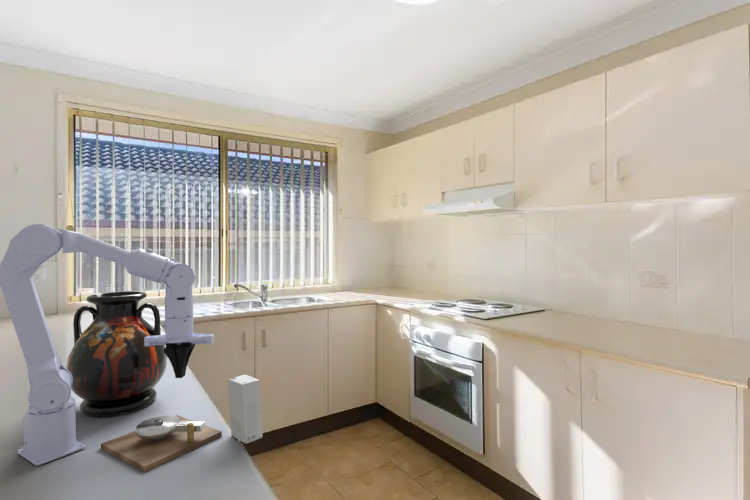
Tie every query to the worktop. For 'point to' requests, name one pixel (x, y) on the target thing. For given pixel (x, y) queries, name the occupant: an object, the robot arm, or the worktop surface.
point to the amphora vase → (115, 355)
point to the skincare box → (245, 408)
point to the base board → (158, 446)
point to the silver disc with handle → (165, 426)
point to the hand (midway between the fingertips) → (180, 376)
